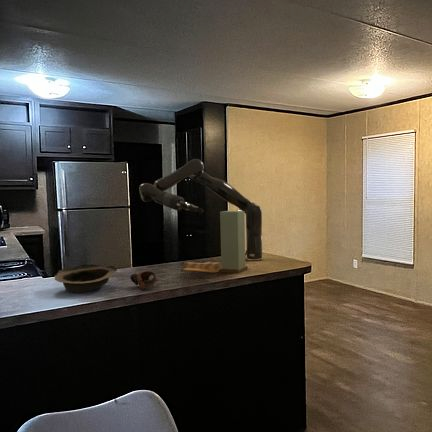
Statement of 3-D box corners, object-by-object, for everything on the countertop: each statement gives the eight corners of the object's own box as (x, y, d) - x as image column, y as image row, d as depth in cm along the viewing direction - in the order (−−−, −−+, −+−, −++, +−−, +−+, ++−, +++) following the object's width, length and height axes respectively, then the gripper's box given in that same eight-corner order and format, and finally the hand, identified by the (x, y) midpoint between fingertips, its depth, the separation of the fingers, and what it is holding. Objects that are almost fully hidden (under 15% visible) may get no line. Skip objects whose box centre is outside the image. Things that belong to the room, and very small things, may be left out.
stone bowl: (98, 279, 211) (98, 260, 210) (127, 291, 195) (127, 270, 194) (44, 288, 192) (43, 268, 191) (70, 302, 176) (70, 280, 175)
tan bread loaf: (182, 267, 237) (182, 256, 236) (188, 265, 242) (188, 254, 242) (215, 270, 229) (214, 258, 229) (221, 267, 235) (220, 256, 235)
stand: (219, 271, 228) (217, 212, 225) (229, 267, 238) (227, 210, 235) (238, 273, 224) (237, 212, 221) (247, 269, 234) (246, 210, 232)
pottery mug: (159, 285, 202) (160, 271, 197) (151, 299, 194) (153, 285, 189) (133, 278, 201) (134, 265, 197) (124, 292, 193) (125, 278, 189)
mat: (182, 270, 233) (182, 269, 233) (196, 265, 246) (196, 264, 246) (215, 272, 226) (215, 271, 226) (228, 267, 239) (228, 266, 239)
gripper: (168, 193, 229) (196, 203, 225) (181, 196, 243) (207, 205, 239) (164, 207, 229) (191, 217, 226) (177, 209, 243) (203, 218, 239)
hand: (199, 210), depth 232 cm, fingers open, 8 cm apart
